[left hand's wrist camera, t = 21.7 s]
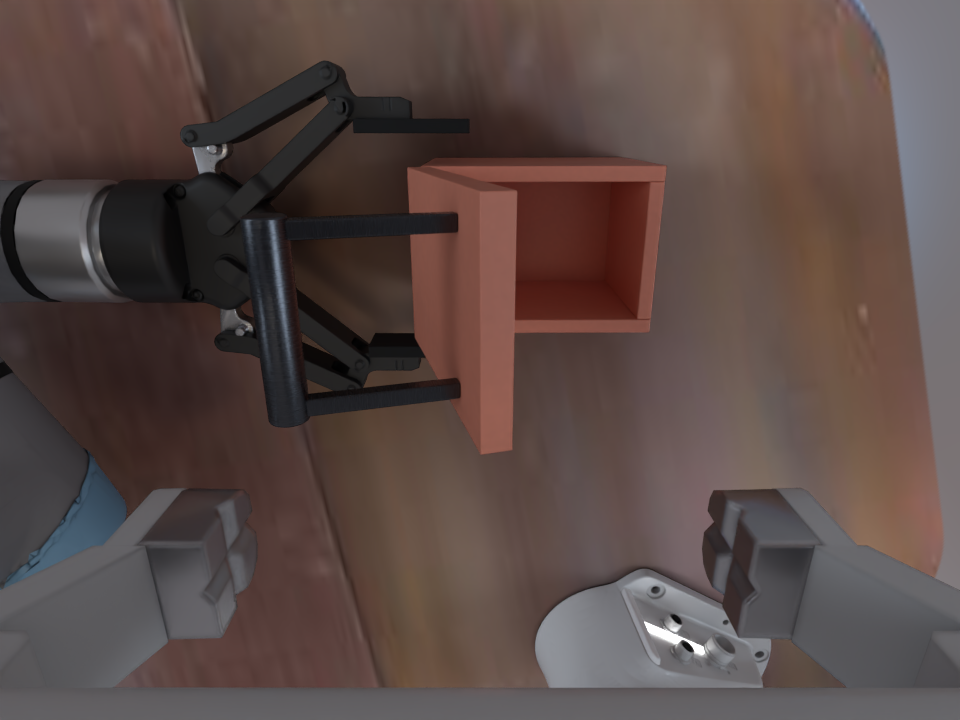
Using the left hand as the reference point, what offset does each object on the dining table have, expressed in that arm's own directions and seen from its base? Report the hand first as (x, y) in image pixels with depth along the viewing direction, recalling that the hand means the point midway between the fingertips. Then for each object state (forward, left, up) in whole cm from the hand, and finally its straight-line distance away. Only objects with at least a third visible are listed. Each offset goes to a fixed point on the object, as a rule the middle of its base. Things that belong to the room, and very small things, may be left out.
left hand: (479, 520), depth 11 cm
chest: (-3, -1, -36) cm, 36 cm away
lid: (+1, 0, -18) cm, 18 cm away
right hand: (0, 0, -29) cm, 29 cm away
